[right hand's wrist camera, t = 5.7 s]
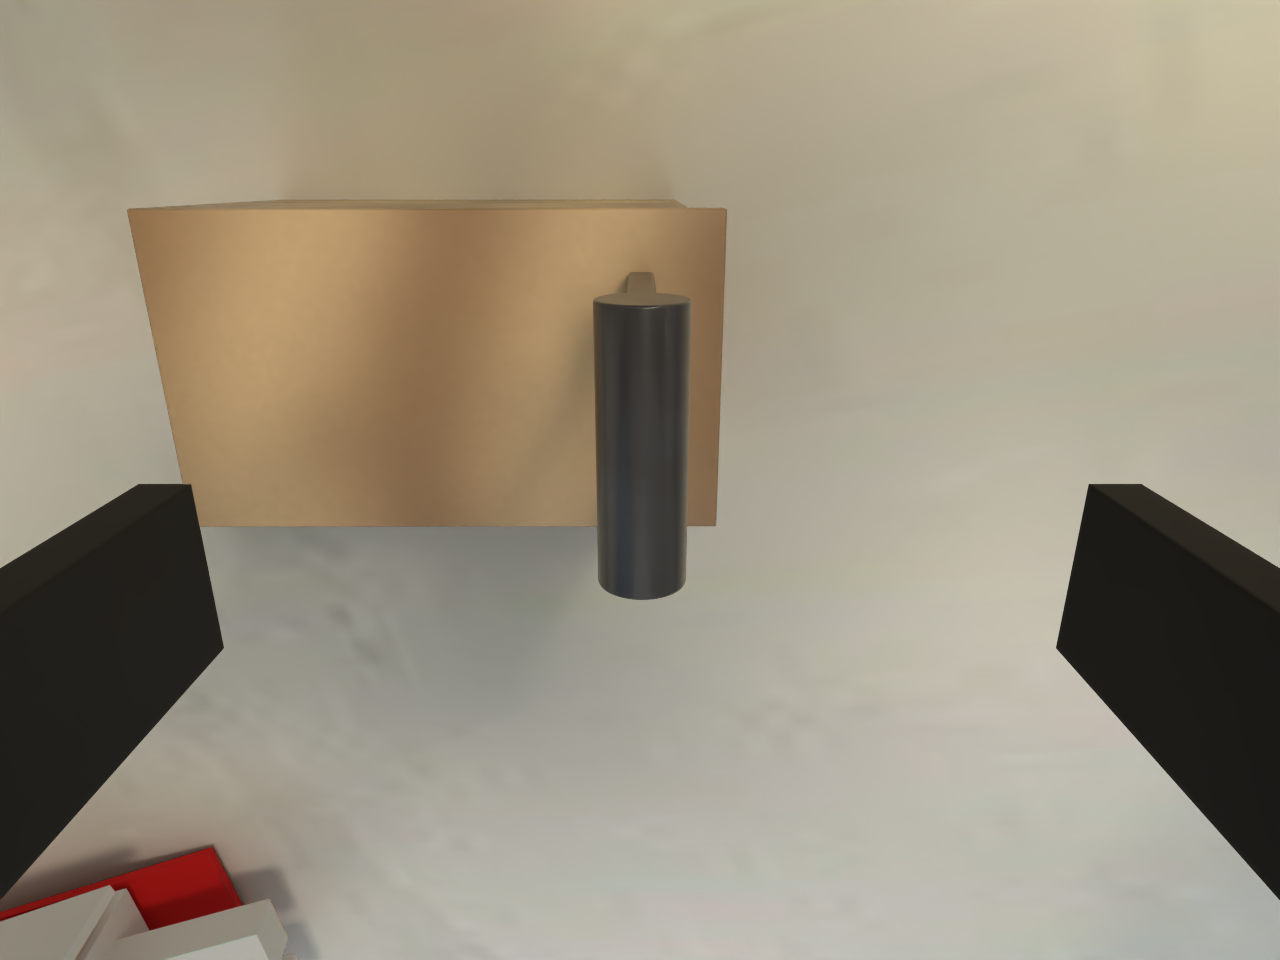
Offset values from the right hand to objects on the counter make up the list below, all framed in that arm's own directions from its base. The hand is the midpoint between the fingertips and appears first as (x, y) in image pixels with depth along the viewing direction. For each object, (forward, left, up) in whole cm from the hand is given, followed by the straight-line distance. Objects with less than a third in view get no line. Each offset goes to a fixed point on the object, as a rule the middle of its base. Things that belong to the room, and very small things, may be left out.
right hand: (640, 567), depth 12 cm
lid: (+4, -5, -13) cm, 15 cm away
